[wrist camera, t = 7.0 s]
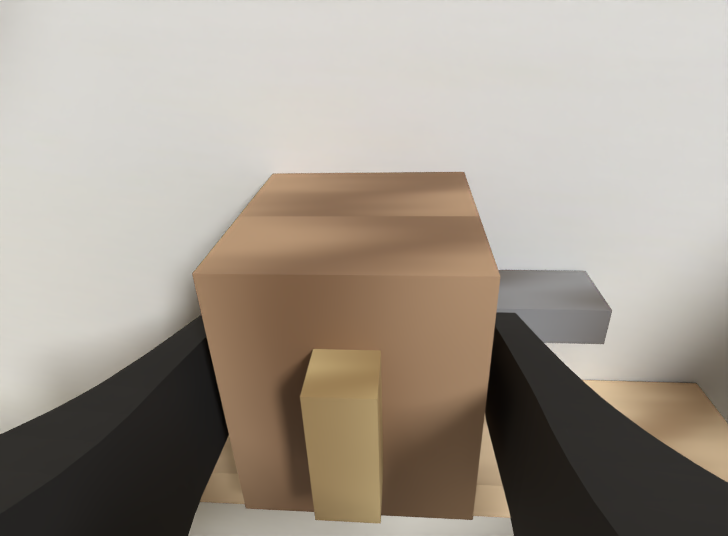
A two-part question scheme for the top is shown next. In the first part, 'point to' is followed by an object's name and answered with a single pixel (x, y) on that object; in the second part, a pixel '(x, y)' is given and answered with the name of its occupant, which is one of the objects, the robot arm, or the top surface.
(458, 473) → the cabinet block
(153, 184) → the top surface
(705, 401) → the cleat board
